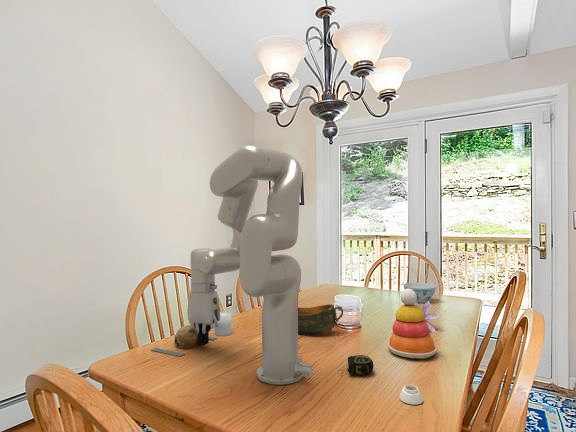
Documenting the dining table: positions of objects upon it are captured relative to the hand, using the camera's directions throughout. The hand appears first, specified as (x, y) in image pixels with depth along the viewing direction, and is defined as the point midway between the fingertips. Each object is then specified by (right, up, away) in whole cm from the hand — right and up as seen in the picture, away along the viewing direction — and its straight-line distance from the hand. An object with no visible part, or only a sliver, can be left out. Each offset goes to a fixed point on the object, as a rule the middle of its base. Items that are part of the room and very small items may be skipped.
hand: (203, 344), depth 116 cm
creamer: (+36, -1, +15) cm, 39 cm away
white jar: (+55, -1, -34) cm, 65 cm away
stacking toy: (+65, -1, -6) cm, 65 cm away
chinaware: (+92, -1, +62) cm, 110 cm away
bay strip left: (-10, -1, -4) cm, 11 cm away
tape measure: (+46, -1, -19) cm, 50 cm away
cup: (+4, -1, +15) cm, 15 cm away
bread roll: (-5, -2, +4) cm, 7 cm away
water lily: (+76, -1, +18) cm, 78 cm away
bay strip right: (-3, -1, +11) cm, 11 cm away
